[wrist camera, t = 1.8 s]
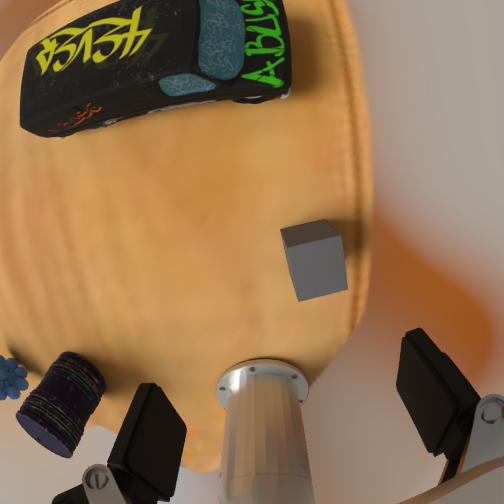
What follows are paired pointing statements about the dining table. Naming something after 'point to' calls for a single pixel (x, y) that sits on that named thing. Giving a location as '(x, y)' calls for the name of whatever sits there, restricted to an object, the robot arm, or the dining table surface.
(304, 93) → the dining table surface
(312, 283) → the grey block
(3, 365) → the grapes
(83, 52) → the toy van
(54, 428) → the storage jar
